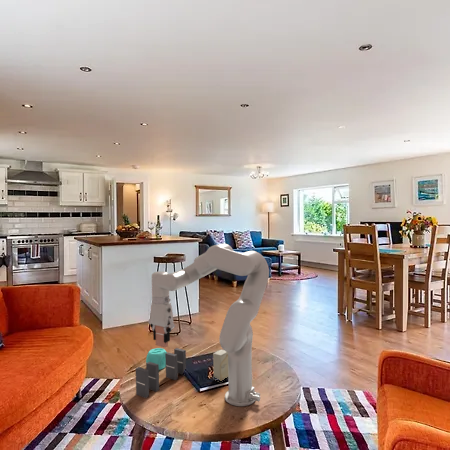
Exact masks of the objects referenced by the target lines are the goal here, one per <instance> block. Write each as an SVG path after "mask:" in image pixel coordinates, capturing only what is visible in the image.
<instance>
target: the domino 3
mask: <svg viewBox="0 0 450 450" xmlns="http://www.w3.org/2000/svg"><path fill="white" fill-rule="evenodd" d="M166 328H167V327H166ZM155 331H156V340H155V346H157V347H160V348H168V347H169V341H168V342H166V343H164V333H165V332H164V328H163V327H161V326H157V325H156V326H155Z"/></svg>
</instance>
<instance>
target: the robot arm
mask: <svg viewBox="0 0 450 450" xmlns="http://www.w3.org/2000/svg"><path fill="white" fill-rule="evenodd" d="M216 270H219V271H223V272H226V273H230V274H233V275H236V276H240V277H244V276H245V277H246V276H247V277H246V279H245V281H244V284H243V287H242V291H241V293H240V295H239V298H238V299H237V300H235V301H234V302H233V303H231V305H230V306H229V307H228V309H227V312H226V314H225V318H224V320H223V324H222V327H221V330H220V333H219V338H218V339H219V344H220V347H221V348H222V350H225V351H226V352H228V378H227V379H228V380H227V381H228V391H226V392H225V394H224V400H225V402H227V403H228V404H229V405H231V406H235V407H246V406H251V405H252V404H253V403H255V401H257V402H260V401H261V393H260V392H256V391H255V386H253V372H252V371H253V369H252V368H253V367H252V360H253V359H252V355H253V354H252V348H253V347H252V346H253V339H254V337H253V335H254V333H253V332H254V331H253V327H252V325H251V322H252V321H253V320H254V319H256V317H257V316H258V313H259V311H260V307H261V304H262V301H263V298H264V296H265V295H264V294H265V291H266V289H267V286H268V282H269V278H270V277H269V276H270V270H269V264H268V263H267V260H266V258H265V257H264V256H263V255H262V254H261V253H260V252H257V251H255V250H249V251H248V250H247V251H245V252H238V251H234V249H233V248H232V246H231V245H229V244H227V243H219V244H214V245H211V246H210V247H208V248H207V250H206V251H204V252H203V253H202V254H200V255H198V256H196V257H195V258H194V259H193V262H192V263H191V264H189V265H187V266H185V267H184V268H183V269H181V270H176V271H173V272H171V273H168V272H167V271H160V270H159V271H155V272H153V273H152V274H151V304H150V312H149V313H150V314H149V316H150V317H149V319H148V321H147V322H148V324H149V326H150V328H151V330H152V333H153V337H152V338H153V341H156V331H155V326H156V325H157V326H161V327H163V328H164V332H165V333H164V343H166V342H168V343H169V342H170V340H171V337H170V336H171V334H170V333H171V332H172V330H174V328H175V327H176V325H175V323H174V314H173V313H174V312H173V308H172V302H171V298H170V292H175V291H177V290H179V289H182V288H184V287H185V288H186V287H187V286H189V285H190V284H192V283H194V282H196V281H198V280H200V279H201V278H204V277H205V276H207V275H210V274H211V273H213V272H215V271H216ZM166 327H167V328H166Z"/></svg>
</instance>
